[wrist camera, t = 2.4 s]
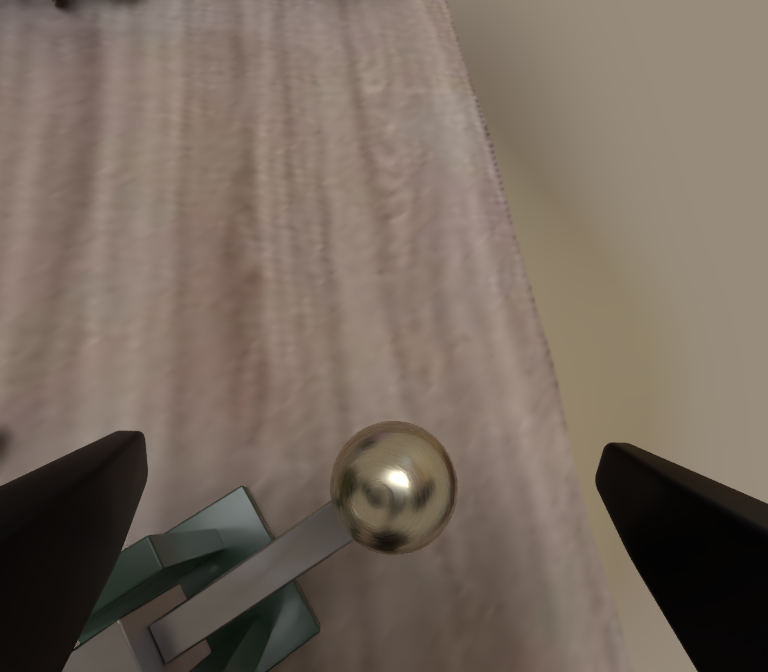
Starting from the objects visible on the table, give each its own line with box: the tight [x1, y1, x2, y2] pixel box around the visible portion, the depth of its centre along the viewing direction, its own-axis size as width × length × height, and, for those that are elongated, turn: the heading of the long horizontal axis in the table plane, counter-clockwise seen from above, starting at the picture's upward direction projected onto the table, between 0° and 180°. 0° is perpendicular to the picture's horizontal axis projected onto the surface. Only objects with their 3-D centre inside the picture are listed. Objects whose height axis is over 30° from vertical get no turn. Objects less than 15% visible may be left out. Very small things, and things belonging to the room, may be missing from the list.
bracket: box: [79, 486, 320, 672], centre depth 16 cm, size 8×7×10 cm
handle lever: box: [62, 421, 457, 672], centre depth 12 cm, size 12×3×3 cm, turn 124°
